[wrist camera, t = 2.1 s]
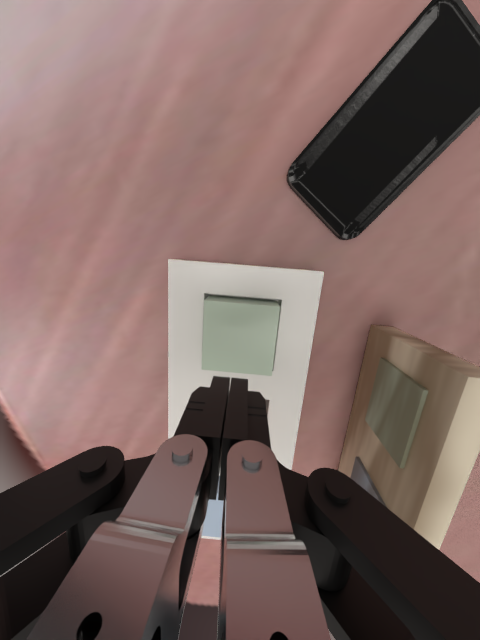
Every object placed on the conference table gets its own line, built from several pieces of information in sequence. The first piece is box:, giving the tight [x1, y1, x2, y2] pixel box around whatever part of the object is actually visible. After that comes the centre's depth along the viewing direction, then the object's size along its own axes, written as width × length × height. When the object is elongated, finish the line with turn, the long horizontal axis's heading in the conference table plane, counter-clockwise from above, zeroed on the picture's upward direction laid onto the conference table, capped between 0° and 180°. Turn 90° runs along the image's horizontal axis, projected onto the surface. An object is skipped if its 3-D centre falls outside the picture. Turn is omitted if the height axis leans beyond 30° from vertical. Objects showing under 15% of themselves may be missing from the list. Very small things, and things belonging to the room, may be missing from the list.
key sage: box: [202, 295, 280, 376], centre depth 19 cm, size 6×6×3 cm
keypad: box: [168, 259, 324, 540], centre depth 23 cm, size 12×29×3 cm, turn 176°
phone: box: [287, 0, 480, 240], centre depth 18 cm, size 8×1×15 cm
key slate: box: [202, 476, 224, 538], centre depth 24 cm, size 6×6×3 cm
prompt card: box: [338, 325, 480, 550], centre depth 19 cm, size 2×20×10 cm, turn 176°
